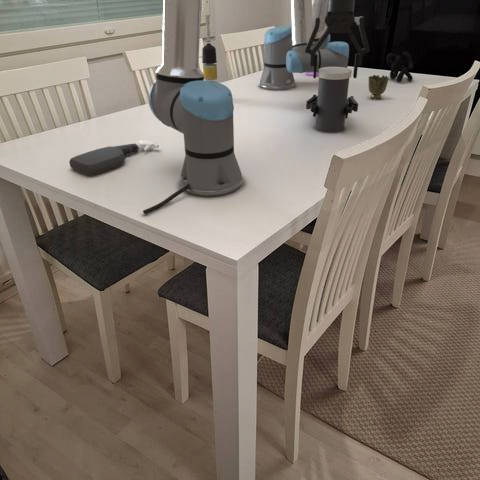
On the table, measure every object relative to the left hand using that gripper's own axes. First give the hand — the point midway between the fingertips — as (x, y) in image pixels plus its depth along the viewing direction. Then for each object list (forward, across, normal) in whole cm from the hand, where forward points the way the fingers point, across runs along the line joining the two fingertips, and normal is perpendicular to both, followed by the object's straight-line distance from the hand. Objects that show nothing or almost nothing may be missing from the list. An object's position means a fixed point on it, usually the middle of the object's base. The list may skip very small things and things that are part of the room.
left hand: (334, 77), depth 137 cm
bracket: (+16, -2, +84) cm, 86 cm away
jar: (+16, 0, 0) cm, 16 cm away
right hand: (+10, -1, -5) cm, 11 cm away
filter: (+16, -45, +34) cm, 59 cm away
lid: (-2, 0, 0) cm, 2 cm away
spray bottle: (+15, -60, -32) cm, 70 cm away
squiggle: (+16, +34, +70) cm, 80 cm away
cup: (+16, +20, +38) cm, 46 cm away
